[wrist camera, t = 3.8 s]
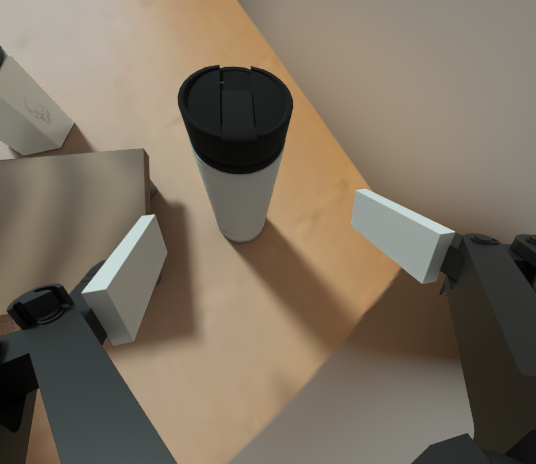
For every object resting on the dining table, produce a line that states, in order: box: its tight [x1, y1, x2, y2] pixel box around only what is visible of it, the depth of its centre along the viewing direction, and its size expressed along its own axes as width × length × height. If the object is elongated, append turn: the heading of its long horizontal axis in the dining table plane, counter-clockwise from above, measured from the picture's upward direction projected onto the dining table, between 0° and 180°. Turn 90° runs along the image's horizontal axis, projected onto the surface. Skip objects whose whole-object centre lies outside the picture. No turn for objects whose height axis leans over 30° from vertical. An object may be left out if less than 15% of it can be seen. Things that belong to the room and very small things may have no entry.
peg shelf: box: [0, 148, 161, 317], centre depth 25 cm, size 16×16×6 cm
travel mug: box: [178, 65, 293, 243], centre depth 21 cm, size 6×7×20 cm
